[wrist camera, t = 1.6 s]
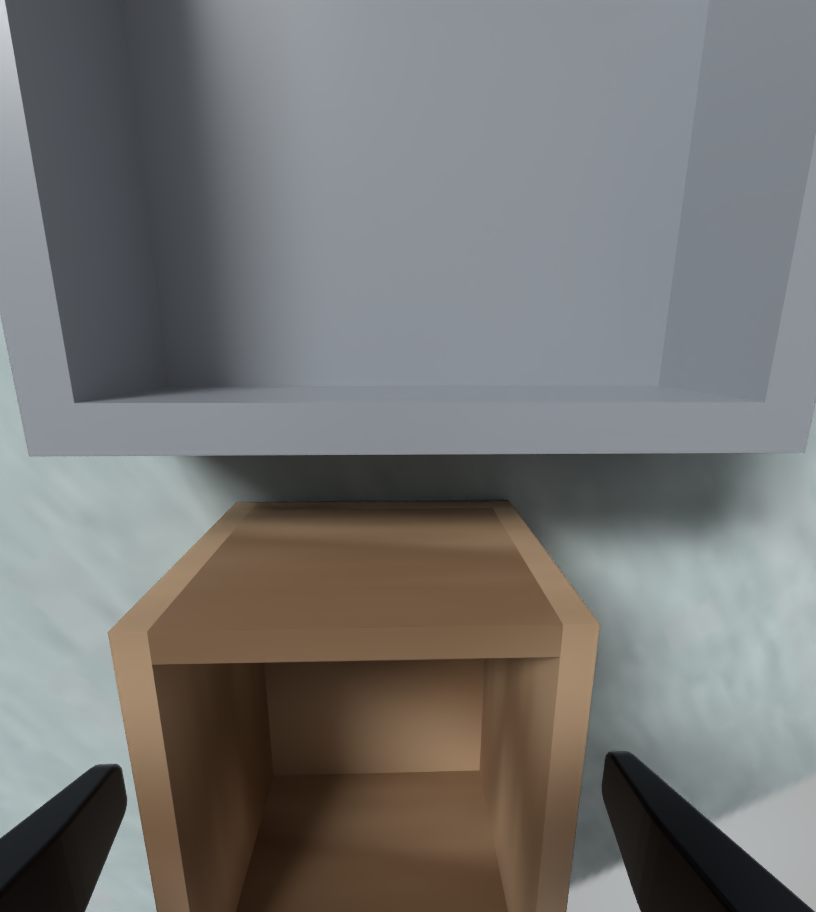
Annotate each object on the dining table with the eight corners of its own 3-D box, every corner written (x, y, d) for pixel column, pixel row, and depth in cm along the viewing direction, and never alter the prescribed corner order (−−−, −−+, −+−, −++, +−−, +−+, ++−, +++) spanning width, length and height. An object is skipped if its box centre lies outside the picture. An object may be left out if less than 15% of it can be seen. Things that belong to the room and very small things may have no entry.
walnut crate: (492, 768, 13) (552, 1023, 8) (261, 774, 13) (179, 1040, 8) (508, 500, 11) (600, 623, 6) (236, 502, 11) (107, 632, 6)
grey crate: (672, 417, 11) (804, 452, 7) (149, 419, 10) (29, 456, 7) (772, -281, 8) (1067, -765, 4) (51, -315, 7) (-241, -877, 4)
